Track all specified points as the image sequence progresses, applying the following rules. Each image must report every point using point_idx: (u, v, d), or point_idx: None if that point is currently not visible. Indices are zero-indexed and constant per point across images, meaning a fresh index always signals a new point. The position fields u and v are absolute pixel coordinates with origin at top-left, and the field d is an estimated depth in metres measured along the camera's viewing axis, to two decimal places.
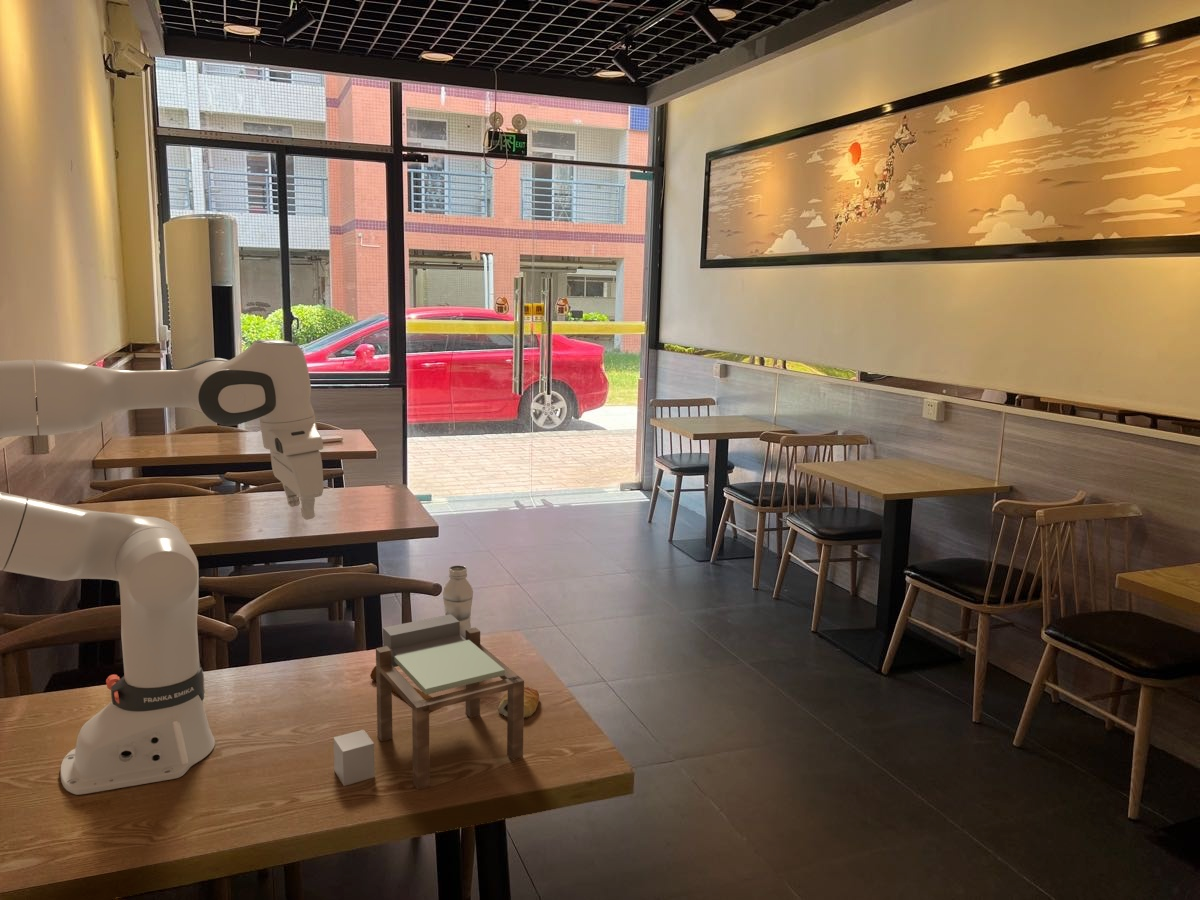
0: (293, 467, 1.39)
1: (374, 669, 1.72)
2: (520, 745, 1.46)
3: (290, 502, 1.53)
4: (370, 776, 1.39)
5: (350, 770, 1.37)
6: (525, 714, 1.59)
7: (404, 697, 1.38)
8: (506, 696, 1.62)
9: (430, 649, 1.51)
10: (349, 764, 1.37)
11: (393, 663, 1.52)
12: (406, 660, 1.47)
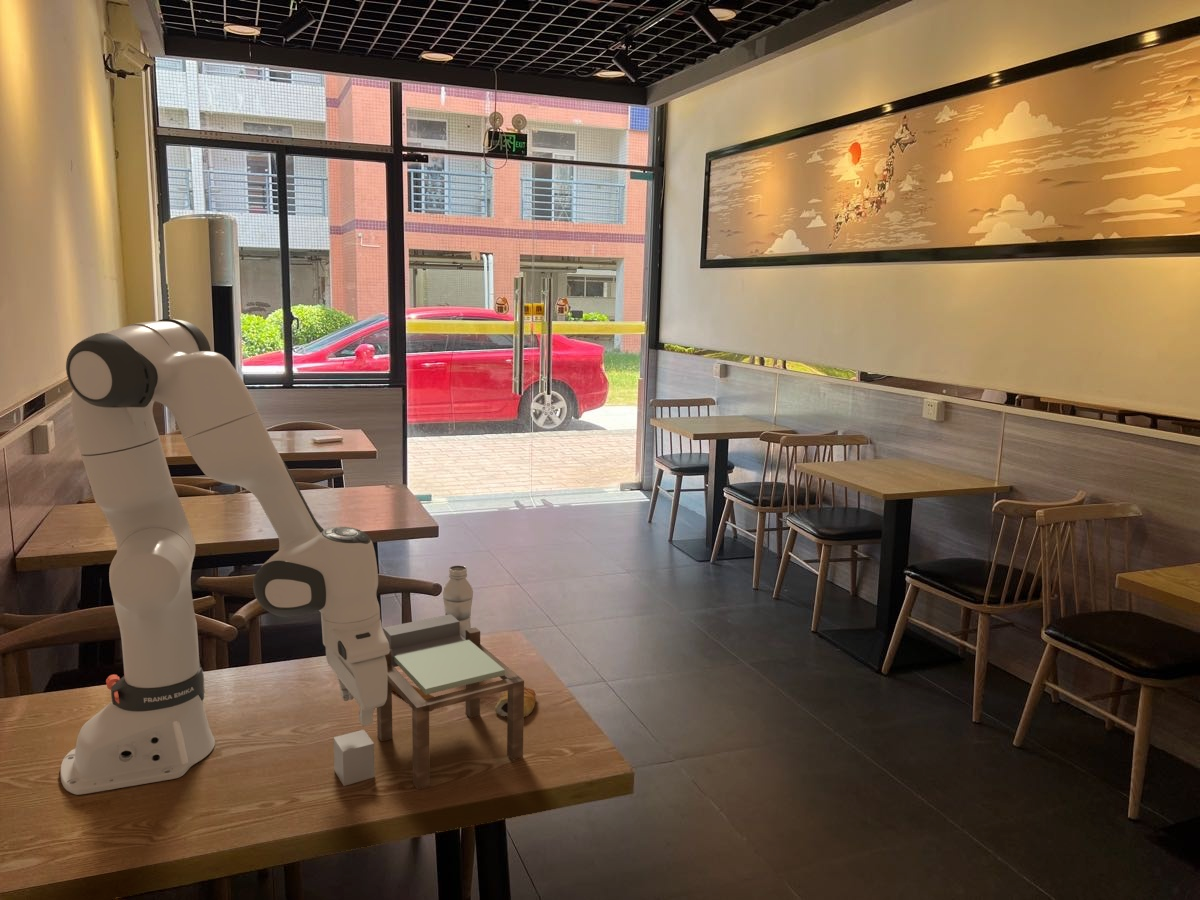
0: (357, 677, 1.27)
1: None
2: (520, 745, 1.46)
3: (344, 696, 1.41)
4: (370, 776, 1.39)
5: (350, 770, 1.37)
6: None
7: (404, 697, 1.38)
8: (503, 696, 1.61)
9: (430, 649, 1.51)
10: (349, 764, 1.37)
11: (393, 663, 1.52)
12: (406, 660, 1.47)
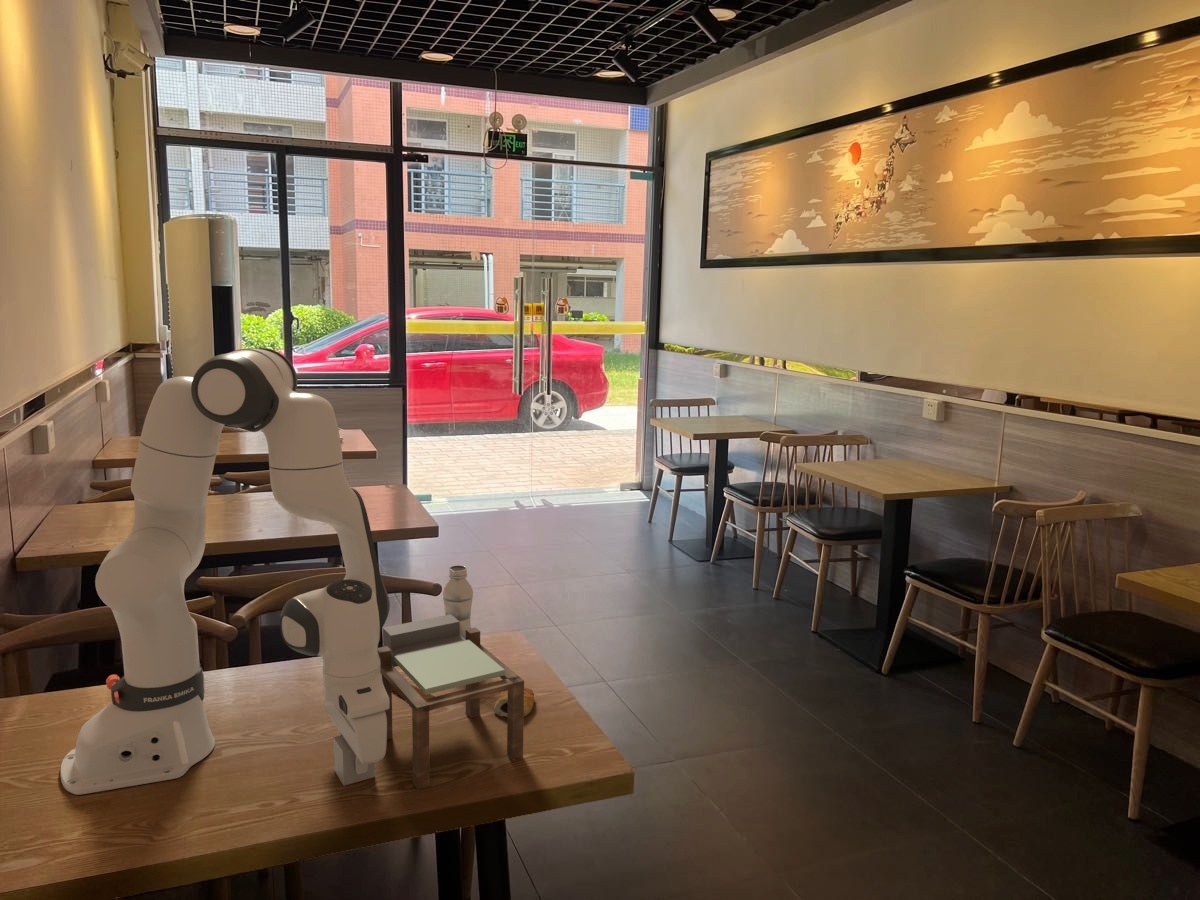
0: (357, 732, 1.29)
1: None
2: (520, 745, 1.46)
3: None
4: (370, 776, 1.39)
5: (350, 770, 1.37)
6: None
7: (404, 697, 1.38)
8: (502, 696, 1.61)
9: (430, 649, 1.51)
10: (349, 764, 1.37)
11: (393, 663, 1.52)
12: (406, 660, 1.47)
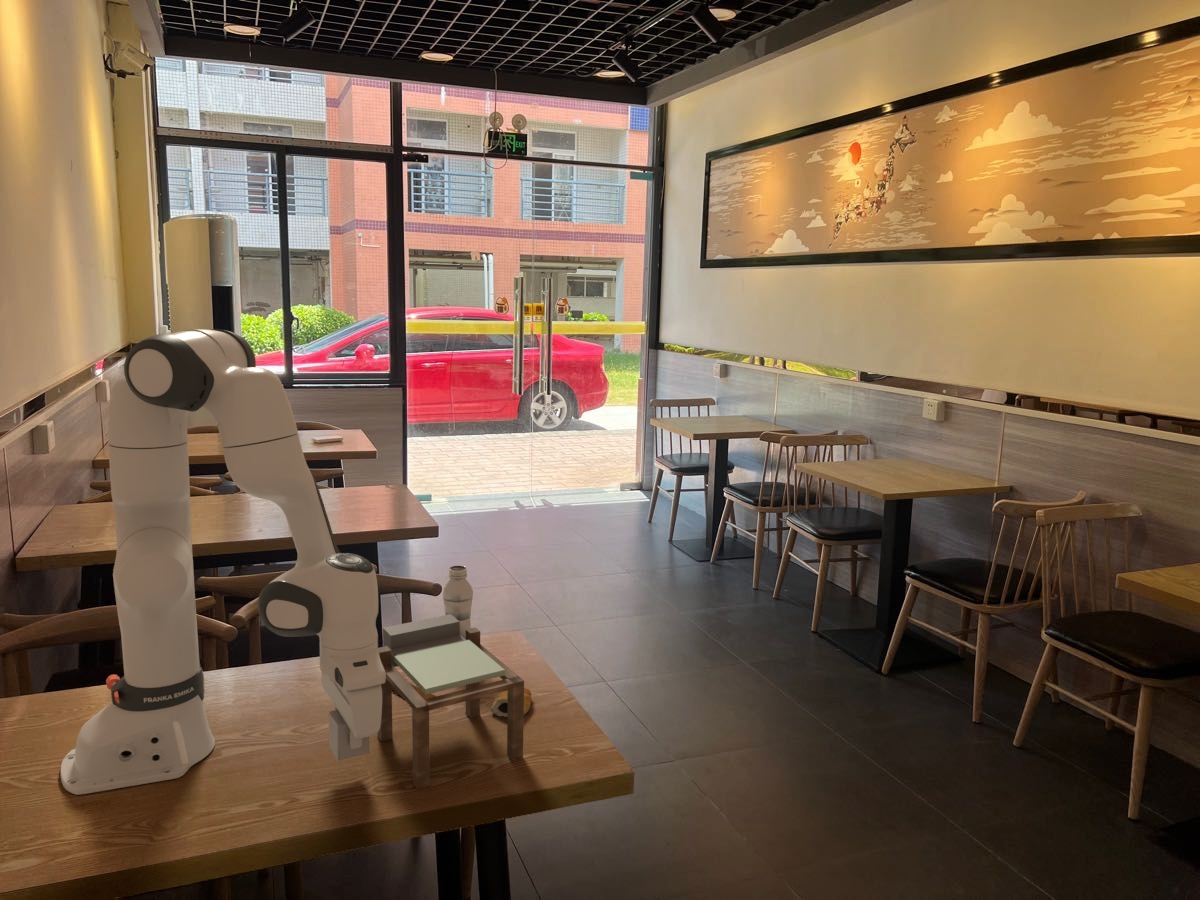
0: (352, 705, 1.28)
1: None
2: (520, 745, 1.46)
3: None
4: (365, 752, 1.38)
5: (344, 744, 1.36)
6: None
7: (404, 697, 1.38)
8: (499, 696, 1.61)
9: (430, 649, 1.51)
10: (344, 738, 1.36)
11: (393, 663, 1.52)
12: (406, 660, 1.47)
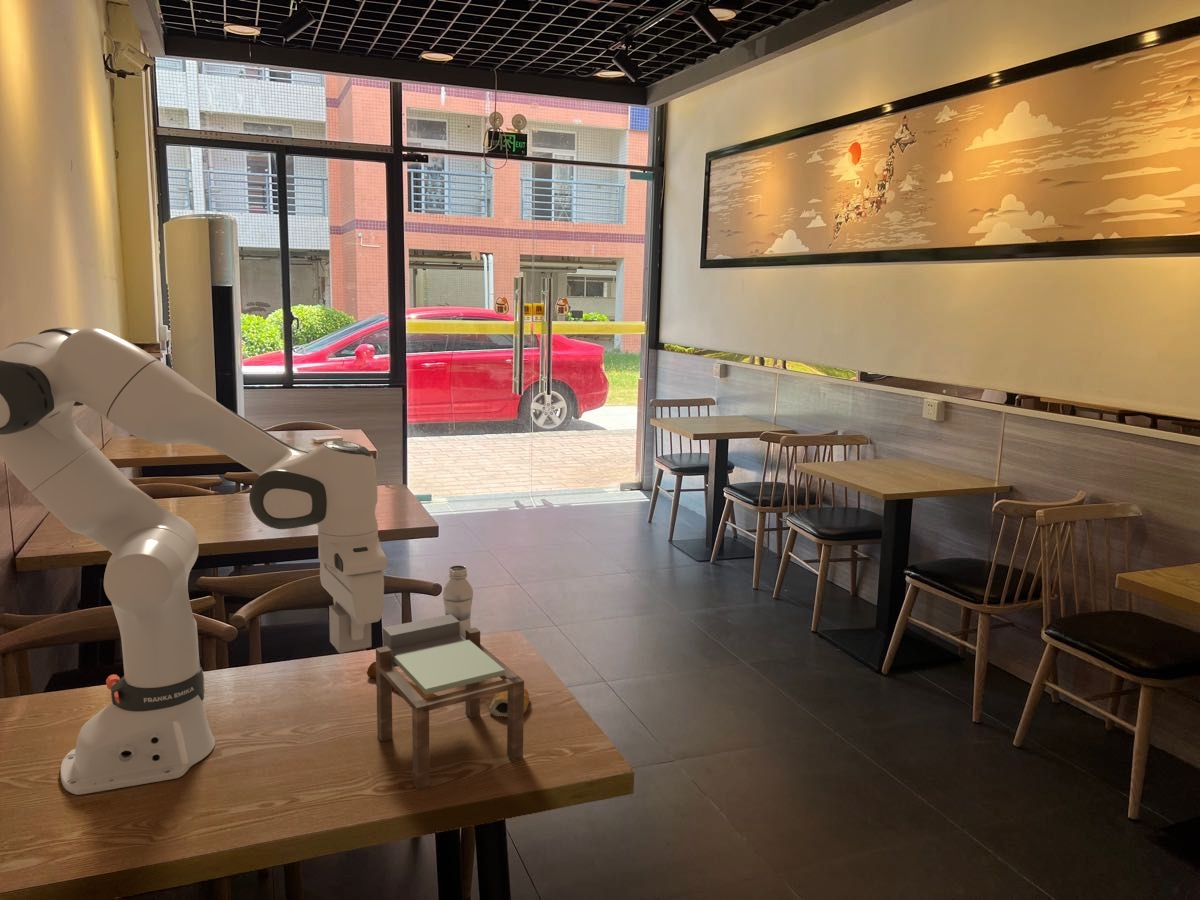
0: (353, 589, 1.25)
1: (370, 666, 1.73)
2: (520, 745, 1.46)
3: None
4: (367, 645, 1.35)
5: (346, 637, 1.33)
6: None
7: (404, 697, 1.38)
8: (497, 696, 1.61)
9: (430, 649, 1.51)
10: (345, 630, 1.32)
11: (393, 663, 1.52)
12: (406, 660, 1.47)
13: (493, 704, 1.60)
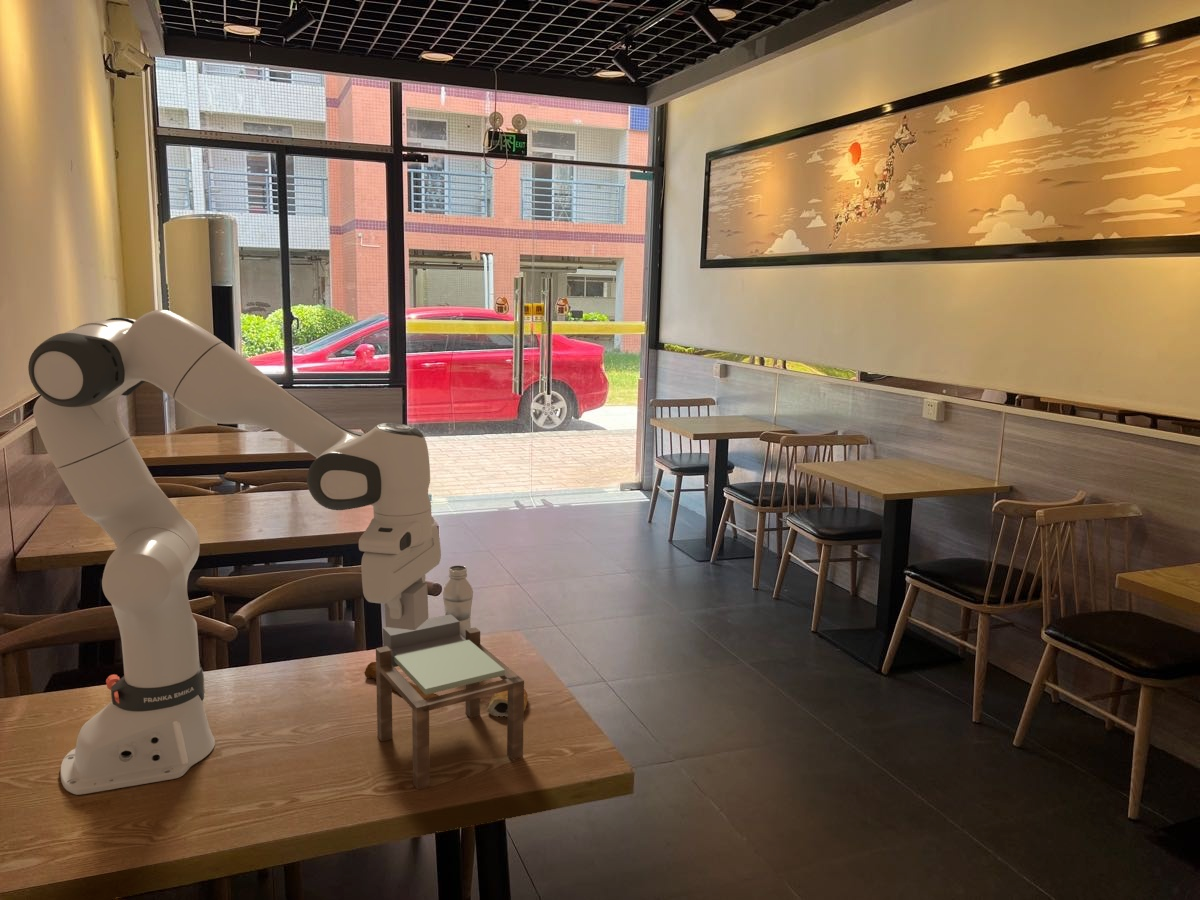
0: (361, 565, 1.28)
1: (368, 667, 1.73)
2: (520, 745, 1.46)
3: None
4: (411, 628, 1.36)
5: None
6: None
7: (404, 697, 1.38)
8: (496, 696, 1.61)
9: (430, 649, 1.51)
10: None
11: (393, 663, 1.52)
12: (406, 660, 1.47)
13: (492, 704, 1.60)
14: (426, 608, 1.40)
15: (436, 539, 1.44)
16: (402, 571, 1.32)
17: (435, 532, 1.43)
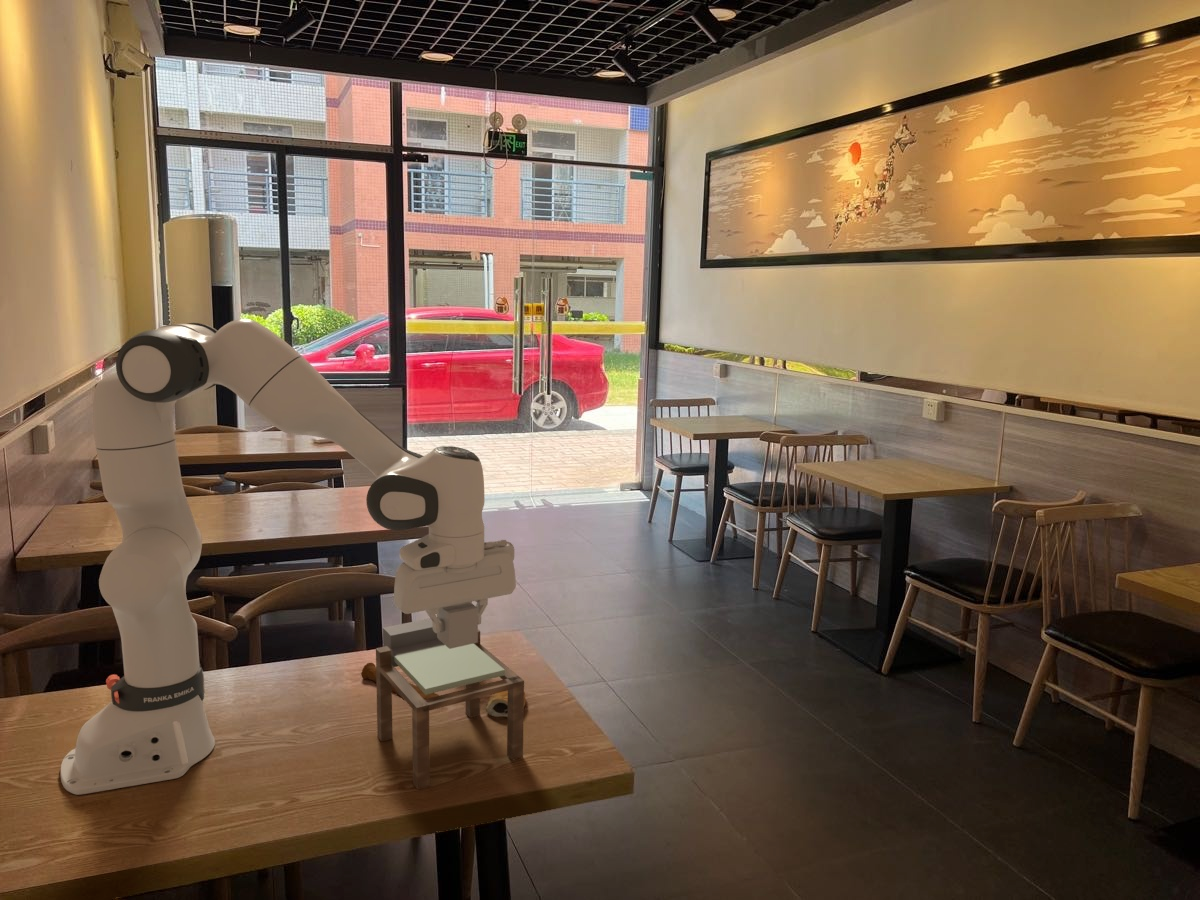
0: None
1: (365, 668, 1.73)
2: (520, 745, 1.46)
3: None
4: (447, 645, 1.39)
5: None
6: None
7: (404, 697, 1.38)
8: (494, 696, 1.61)
9: (430, 649, 1.51)
10: None
11: (393, 663, 1.52)
12: (406, 660, 1.47)
13: (490, 704, 1.60)
14: (474, 631, 1.41)
15: (506, 568, 1.43)
16: (436, 589, 1.37)
17: (504, 561, 1.42)
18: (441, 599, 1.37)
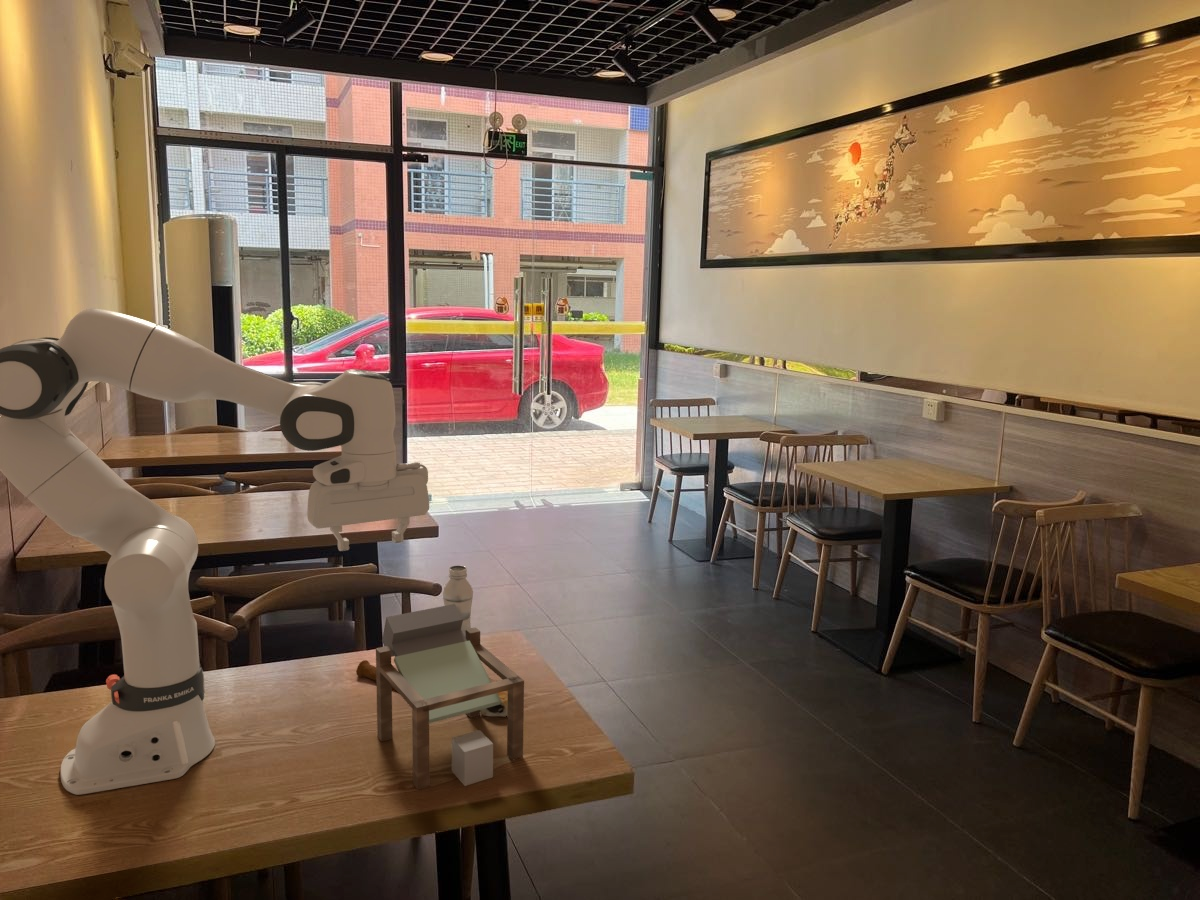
0: (310, 490, 1.42)
1: (360, 665, 1.73)
2: (520, 745, 1.46)
3: (392, 536, 1.50)
4: (453, 741, 1.40)
5: (461, 762, 1.38)
6: None
7: (404, 697, 1.38)
8: None
9: (430, 651, 1.51)
10: (462, 769, 1.38)
11: (391, 653, 1.52)
12: (406, 666, 1.47)
13: None
14: None
15: (419, 489, 1.49)
16: (348, 505, 1.42)
17: (416, 482, 1.48)
18: (353, 516, 1.43)
